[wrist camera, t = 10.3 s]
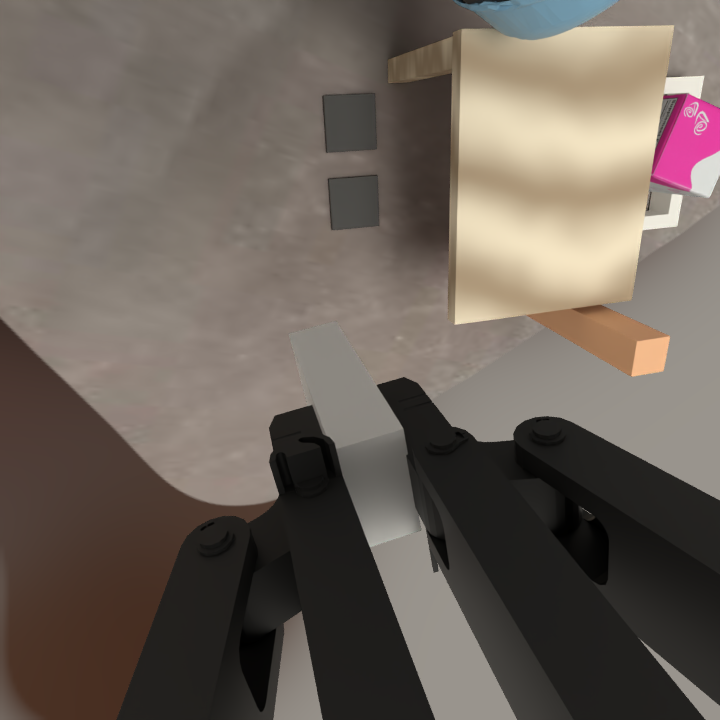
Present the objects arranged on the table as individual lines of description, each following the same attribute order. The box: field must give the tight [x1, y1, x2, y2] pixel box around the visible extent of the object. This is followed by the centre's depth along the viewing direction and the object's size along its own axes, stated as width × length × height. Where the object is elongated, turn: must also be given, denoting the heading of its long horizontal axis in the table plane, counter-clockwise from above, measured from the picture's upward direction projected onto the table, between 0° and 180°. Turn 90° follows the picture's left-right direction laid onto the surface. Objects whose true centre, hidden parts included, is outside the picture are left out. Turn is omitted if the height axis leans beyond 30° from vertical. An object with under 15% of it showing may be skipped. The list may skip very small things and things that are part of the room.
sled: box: [527, 76, 704, 377], centre depth 42 cm, size 18×17×19 cm
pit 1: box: [323, 94, 377, 153], centre depth 43 cm, size 4×4×1 cm
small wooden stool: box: [388, 25, 674, 325], centre depth 41 cm, size 17×14×14 cm
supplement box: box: [649, 93, 720, 198], centre depth 44 cm, size 6×6×12 cm
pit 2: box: [328, 175, 379, 230], centre depth 45 cm, size 4×4×1 cm
